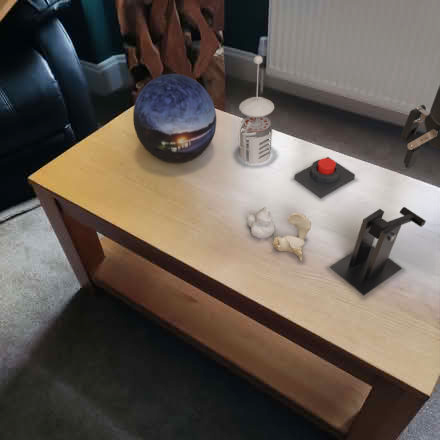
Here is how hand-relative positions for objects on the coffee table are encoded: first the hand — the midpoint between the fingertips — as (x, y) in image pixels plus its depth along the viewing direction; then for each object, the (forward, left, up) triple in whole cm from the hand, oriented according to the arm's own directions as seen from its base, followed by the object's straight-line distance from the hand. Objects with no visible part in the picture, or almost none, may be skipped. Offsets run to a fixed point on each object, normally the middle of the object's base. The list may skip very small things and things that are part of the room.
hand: (429, 178), depth 75 cm
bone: (+21, -7, -18) cm, 29 cm away
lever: (+5, +1, -9) cm, 11 cm away
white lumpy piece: (+25, -15, -18) cm, 34 cm away
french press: (+16, -40, -18) cm, 47 cm away
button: (+4, -25, -15) cm, 29 cm away
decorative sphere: (+33, -49, -18) cm, 62 cm away
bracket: (+10, +3, -18) cm, 21 cm away
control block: (+4, -25, -18) cm, 31 cm away
